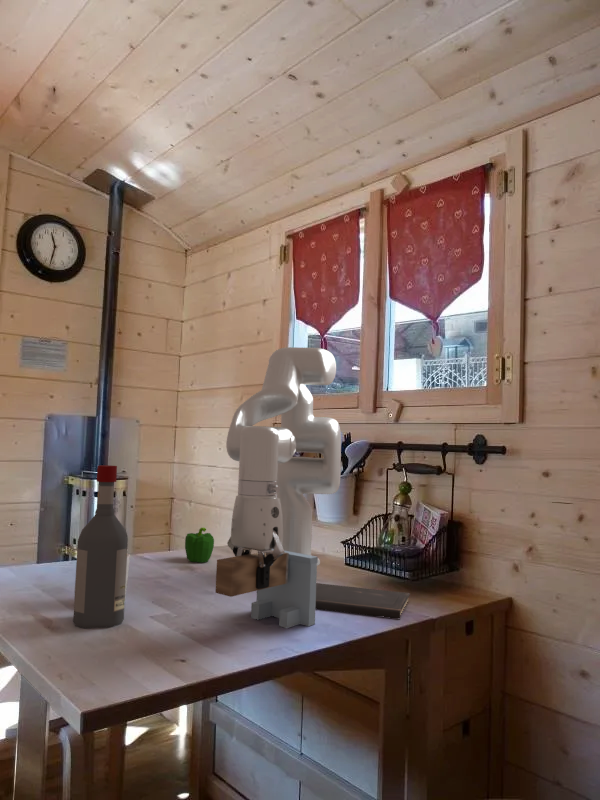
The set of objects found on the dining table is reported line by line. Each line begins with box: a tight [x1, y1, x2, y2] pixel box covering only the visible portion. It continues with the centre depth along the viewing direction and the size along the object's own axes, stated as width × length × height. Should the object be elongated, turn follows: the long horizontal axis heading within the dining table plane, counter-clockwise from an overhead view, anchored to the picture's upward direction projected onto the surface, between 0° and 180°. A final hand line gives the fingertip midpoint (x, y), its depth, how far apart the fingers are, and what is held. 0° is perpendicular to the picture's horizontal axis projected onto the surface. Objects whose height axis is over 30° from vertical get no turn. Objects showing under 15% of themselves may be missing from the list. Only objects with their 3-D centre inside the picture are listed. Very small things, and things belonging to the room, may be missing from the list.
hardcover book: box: [315, 582, 411, 619], centre depth 138 cm, size 16×23×2 cm
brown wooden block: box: [215, 550, 289, 598], centre depth 118 cm, size 16×4×6 cm, turn 142°
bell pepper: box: [184, 527, 215, 564], centre depth 177 cm, size 8×8×10 cm
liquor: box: [72, 464, 129, 629], centre depth 119 cm, size 9×9×30 cm
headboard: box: [250, 549, 319, 629], centre depth 124 cm, size 6×14×13 cm, turn 52°
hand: (253, 584), depth 117 cm, fingers closed on brown wooden block, 4 cm apart
